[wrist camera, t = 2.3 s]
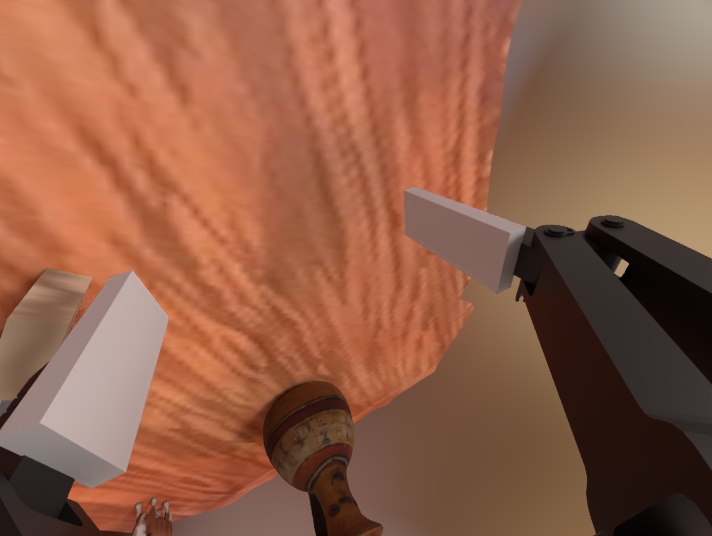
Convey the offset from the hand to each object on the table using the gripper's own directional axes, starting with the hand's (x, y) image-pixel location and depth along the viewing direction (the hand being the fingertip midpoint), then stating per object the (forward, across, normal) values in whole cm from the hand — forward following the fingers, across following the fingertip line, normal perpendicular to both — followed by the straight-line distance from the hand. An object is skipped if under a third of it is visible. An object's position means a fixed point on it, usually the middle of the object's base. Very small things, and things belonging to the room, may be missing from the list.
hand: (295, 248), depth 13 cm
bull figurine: (+27, -44, -62) cm, 81 cm away
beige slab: (+23, -26, -10) cm, 36 cm away
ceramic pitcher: (+28, -8, -54) cm, 62 cm away
